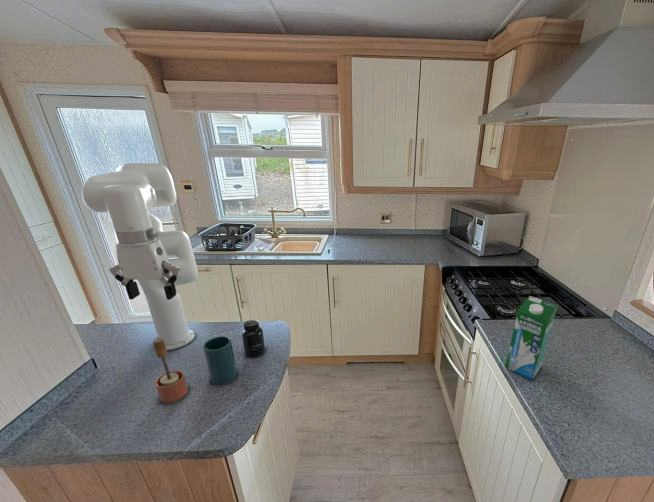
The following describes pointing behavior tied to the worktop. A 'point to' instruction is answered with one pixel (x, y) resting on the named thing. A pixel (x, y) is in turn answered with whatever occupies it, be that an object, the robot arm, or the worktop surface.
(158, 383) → the cup
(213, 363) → the cup
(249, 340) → the supplement bottle
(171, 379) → the brush
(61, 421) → the worktop surface
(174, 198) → the robot arm
